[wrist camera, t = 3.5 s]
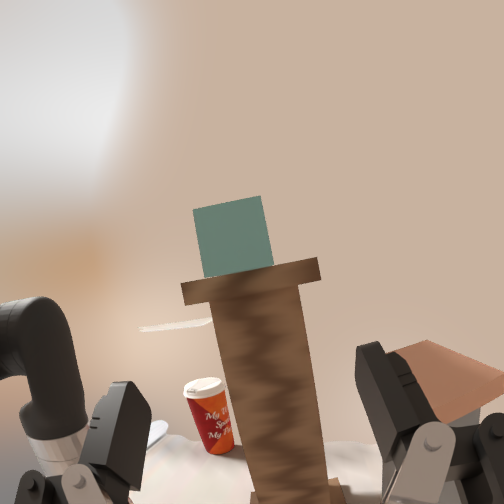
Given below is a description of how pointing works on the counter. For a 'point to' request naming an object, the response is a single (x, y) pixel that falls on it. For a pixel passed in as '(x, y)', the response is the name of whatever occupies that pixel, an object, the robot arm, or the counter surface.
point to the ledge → (449, 393)
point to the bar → (233, 237)
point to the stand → (271, 379)
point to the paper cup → (210, 414)
